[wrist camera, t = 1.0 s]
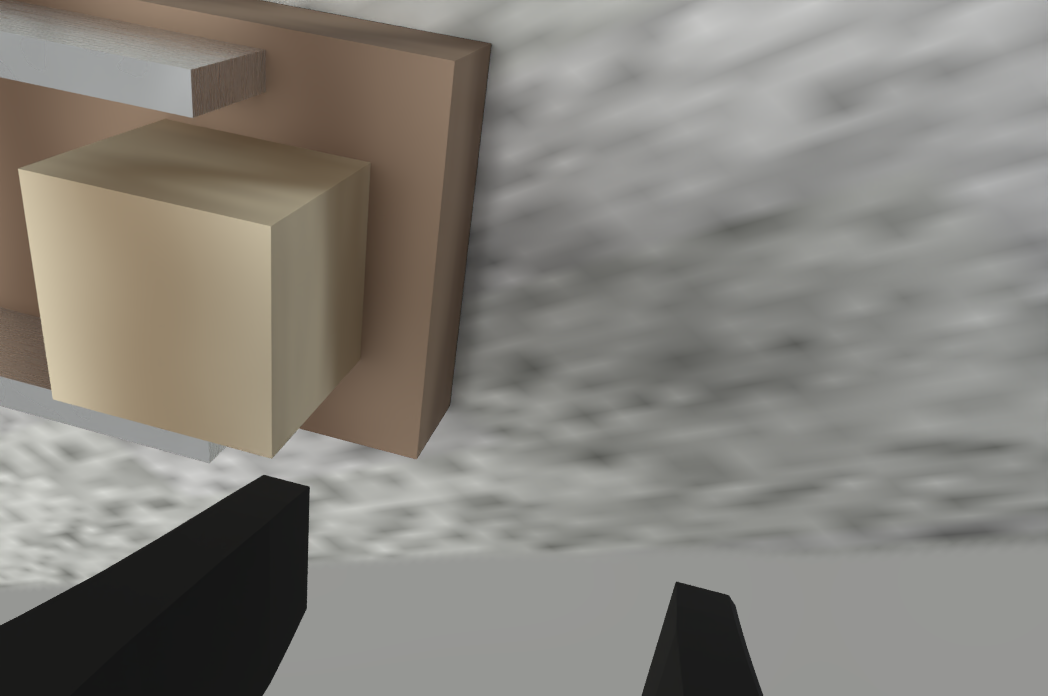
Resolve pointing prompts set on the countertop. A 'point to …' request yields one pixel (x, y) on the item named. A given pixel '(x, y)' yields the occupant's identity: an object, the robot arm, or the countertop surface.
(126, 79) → the channel walls
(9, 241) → the board
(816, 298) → the countertop surface
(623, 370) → the countertop surface
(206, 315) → the maple block
